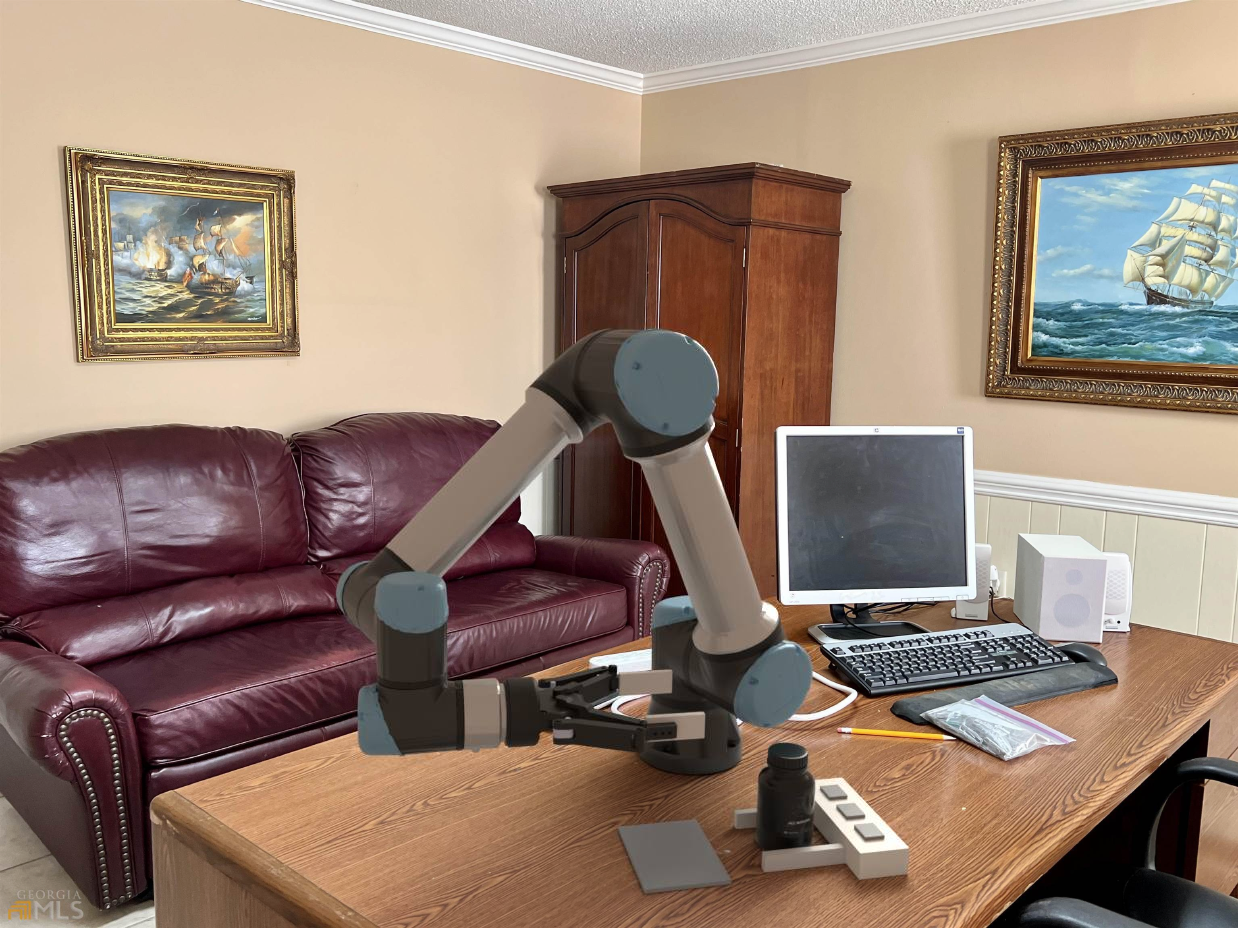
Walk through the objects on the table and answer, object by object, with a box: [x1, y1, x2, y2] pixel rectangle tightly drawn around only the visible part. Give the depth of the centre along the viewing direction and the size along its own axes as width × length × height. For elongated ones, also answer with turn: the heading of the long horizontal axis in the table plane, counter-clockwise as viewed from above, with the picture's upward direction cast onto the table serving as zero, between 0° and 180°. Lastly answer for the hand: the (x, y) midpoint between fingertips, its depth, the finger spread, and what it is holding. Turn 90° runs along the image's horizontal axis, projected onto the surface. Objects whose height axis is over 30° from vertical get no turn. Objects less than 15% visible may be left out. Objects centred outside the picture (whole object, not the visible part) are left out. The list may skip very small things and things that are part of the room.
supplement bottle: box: [755, 742, 816, 852], centre depth 120 cm, size 7×7×12 cm
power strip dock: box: [733, 777, 910, 881], centre depth 121 cm, size 18×16×4 cm
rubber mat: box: [617, 818, 732, 895], centre depth 118 cm, size 14×10×1 cm
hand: (687, 701), depth 115 cm, fingers open, 13 cm apart
